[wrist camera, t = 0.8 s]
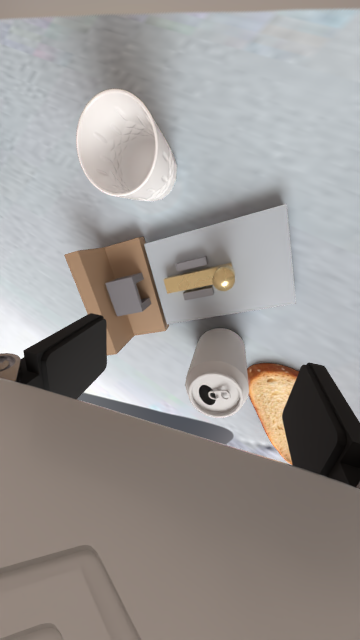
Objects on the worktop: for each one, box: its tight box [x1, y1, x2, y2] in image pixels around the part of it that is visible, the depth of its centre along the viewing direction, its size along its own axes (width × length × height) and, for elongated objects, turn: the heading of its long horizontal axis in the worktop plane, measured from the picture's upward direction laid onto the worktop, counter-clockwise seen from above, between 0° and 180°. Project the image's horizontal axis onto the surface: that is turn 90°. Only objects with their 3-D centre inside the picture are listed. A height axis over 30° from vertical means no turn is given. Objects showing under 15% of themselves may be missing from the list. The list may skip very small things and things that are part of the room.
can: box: [185, 328, 249, 418], centre depth 31 cm, size 8×8×12 cm
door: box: [65, 204, 296, 355], centre depth 29 cm, size 26×14×8 cm, turn 105°
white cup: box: [76, 89, 177, 202], centre depth 25 cm, size 8×8×10 cm
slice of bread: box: [247, 363, 299, 465], centre depth 36 cm, size 18×18×4 cm
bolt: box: [163, 262, 235, 294], centre depth 28 cm, size 9×2×6 cm, turn 105°
